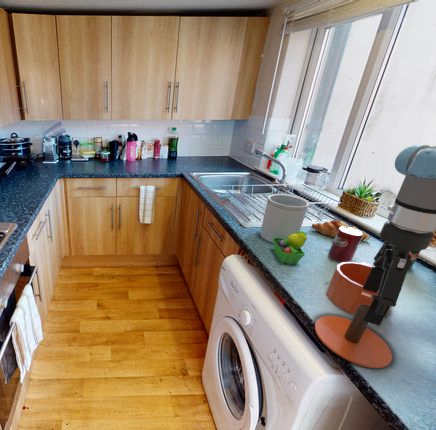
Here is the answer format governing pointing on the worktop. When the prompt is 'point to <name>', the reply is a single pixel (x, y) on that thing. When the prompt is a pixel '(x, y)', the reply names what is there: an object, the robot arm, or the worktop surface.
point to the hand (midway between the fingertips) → (370, 305)
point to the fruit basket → (290, 247)
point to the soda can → (345, 244)
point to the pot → (350, 286)
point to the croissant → (335, 228)
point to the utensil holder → (283, 216)
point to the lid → (354, 339)
